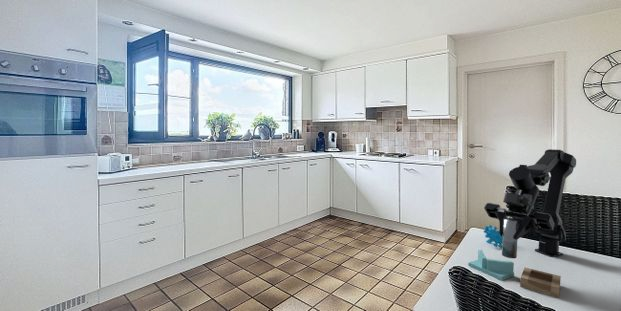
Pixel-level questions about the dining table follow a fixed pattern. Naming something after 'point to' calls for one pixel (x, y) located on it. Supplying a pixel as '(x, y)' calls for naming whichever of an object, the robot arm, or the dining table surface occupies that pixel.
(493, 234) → the gear
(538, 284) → the block
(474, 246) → the dining table surface
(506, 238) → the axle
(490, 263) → the v block
